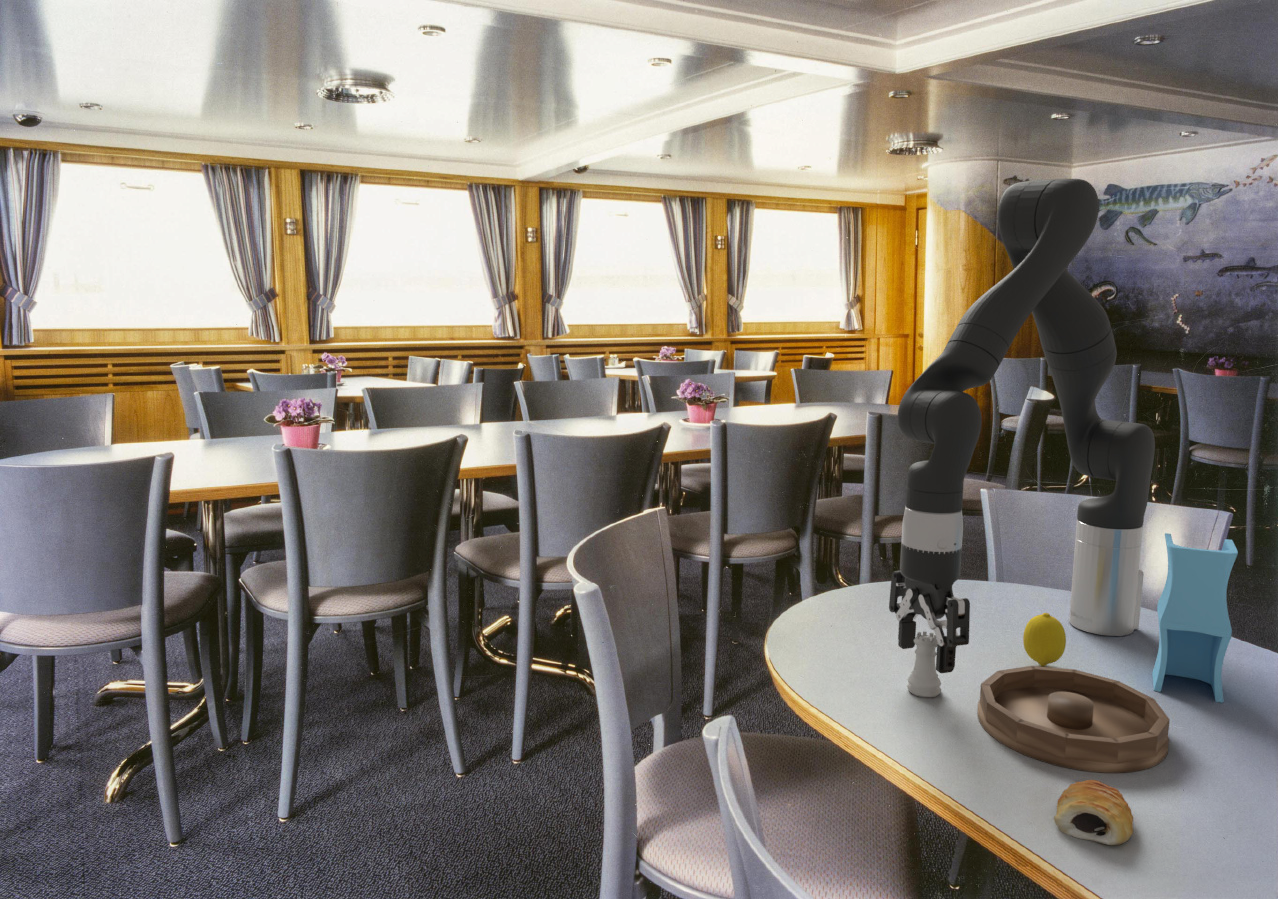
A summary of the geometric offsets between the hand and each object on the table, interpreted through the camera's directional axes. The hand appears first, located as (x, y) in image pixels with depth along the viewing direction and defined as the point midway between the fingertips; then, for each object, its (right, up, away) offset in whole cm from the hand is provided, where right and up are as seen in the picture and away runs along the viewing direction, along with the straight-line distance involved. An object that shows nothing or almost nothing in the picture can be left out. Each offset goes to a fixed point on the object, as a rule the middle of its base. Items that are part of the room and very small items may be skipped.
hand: (924, 659), depth 116 cm
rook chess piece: (0, -5, +1) cm, 5 cm away
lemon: (+20, -3, +9) cm, 22 cm away
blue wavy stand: (+36, -4, +2) cm, 37 cm away
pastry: (+8, -10, -28) cm, 31 cm away
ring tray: (+15, -6, -9) cm, 18 cm away
